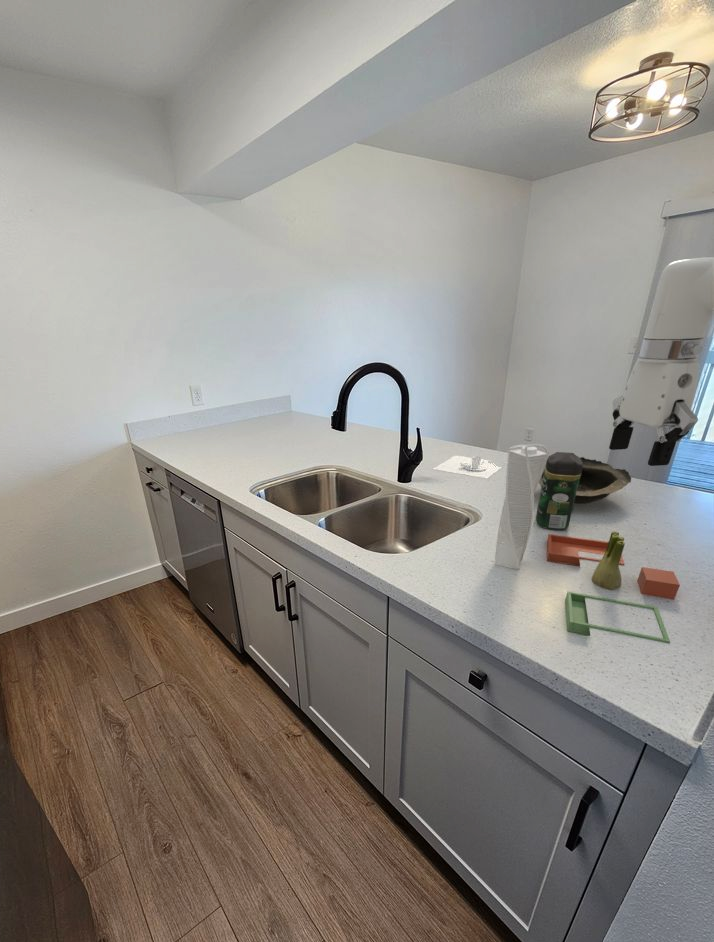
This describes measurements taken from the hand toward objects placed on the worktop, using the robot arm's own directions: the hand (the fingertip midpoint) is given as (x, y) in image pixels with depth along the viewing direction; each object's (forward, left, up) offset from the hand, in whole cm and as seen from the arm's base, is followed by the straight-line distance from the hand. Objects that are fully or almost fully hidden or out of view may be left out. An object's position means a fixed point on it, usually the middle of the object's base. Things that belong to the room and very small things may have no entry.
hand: (636, 456), depth 76 cm
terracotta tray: (+2, -12, -27) cm, 30 cm away
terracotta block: (-9, +1, -27) cm, 29 cm away
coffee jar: (+8, -29, -27) cm, 41 cm away
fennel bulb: (-1, +1, -27) cm, 27 cm away
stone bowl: (+2, -50, -27) cm, 57 cm away
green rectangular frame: (-1, +13, -27) cm, 30 cm away
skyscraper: (+17, -4, -27) cm, 32 cm away
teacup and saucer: (+34, -73, -27) cm, 85 cm away
